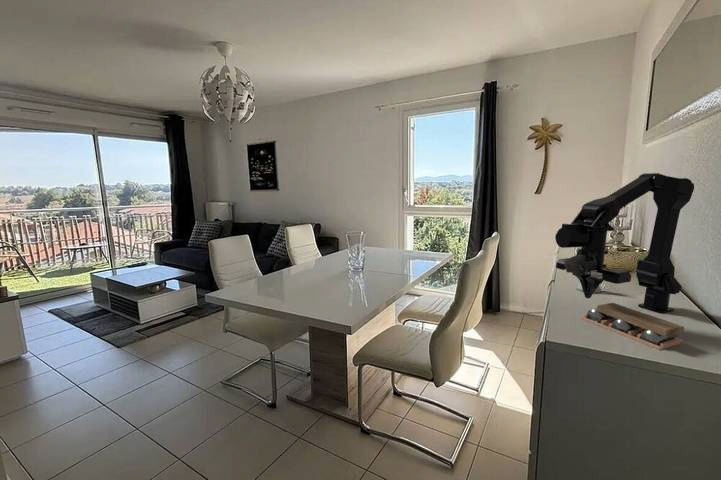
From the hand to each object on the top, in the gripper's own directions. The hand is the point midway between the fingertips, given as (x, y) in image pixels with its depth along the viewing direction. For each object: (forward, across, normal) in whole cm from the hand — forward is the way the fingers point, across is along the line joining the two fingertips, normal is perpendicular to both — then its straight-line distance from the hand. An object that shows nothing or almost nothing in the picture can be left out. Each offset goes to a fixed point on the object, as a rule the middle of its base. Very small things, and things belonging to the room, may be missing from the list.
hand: (587, 297), depth 100 cm
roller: (+5, +18, -1) cm, 19 cm away
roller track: (+5, +12, 0) cm, 13 cm away
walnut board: (+2, +14, 0) cm, 14 cm away
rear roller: (+5, +4, 0) cm, 6 cm away
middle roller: (+5, +11, 0) cm, 12 cm away
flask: (+5, -15, +22) cm, 27 cm away
